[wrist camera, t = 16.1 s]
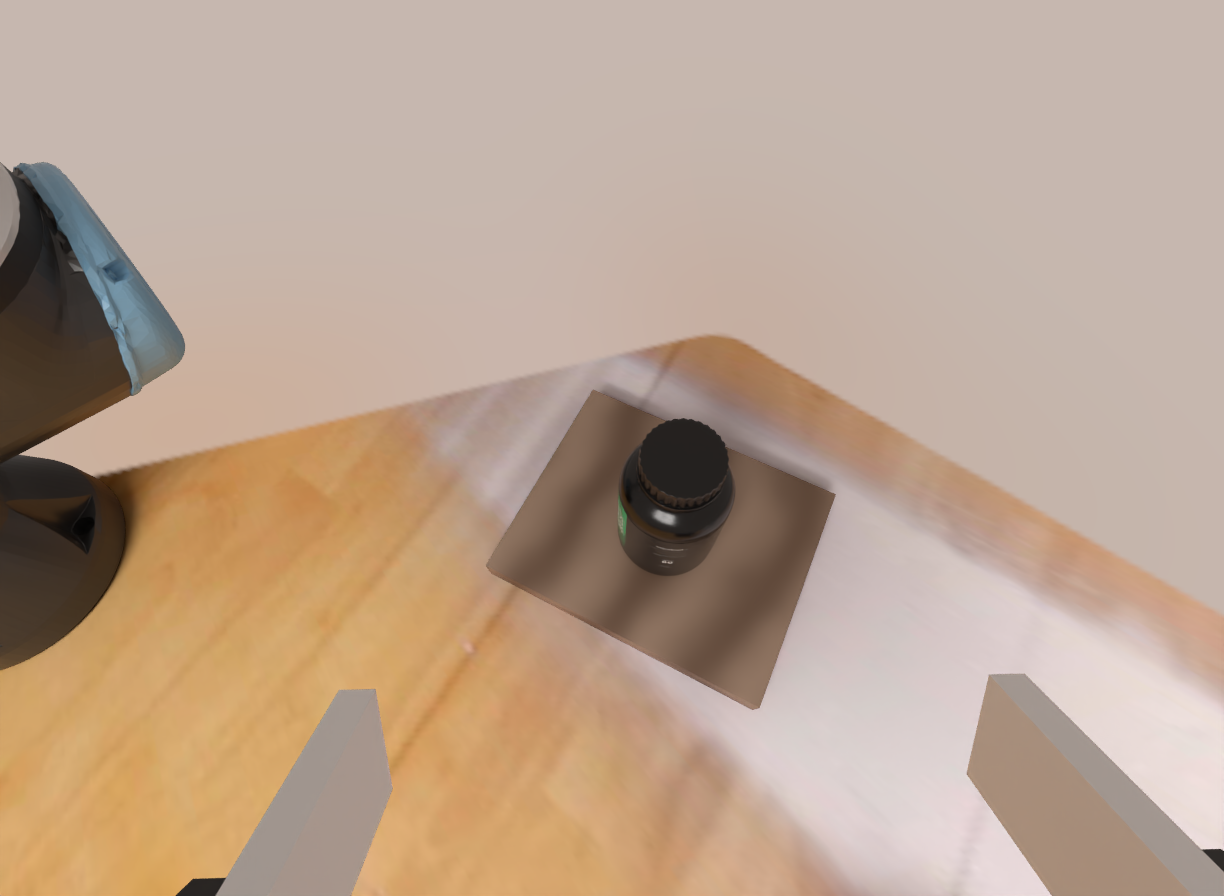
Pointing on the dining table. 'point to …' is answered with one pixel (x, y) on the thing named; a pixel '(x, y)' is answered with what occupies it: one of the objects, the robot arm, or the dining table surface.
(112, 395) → the robot arm
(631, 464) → the supplement bottle
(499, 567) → the walnut board
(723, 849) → the dining table surface
